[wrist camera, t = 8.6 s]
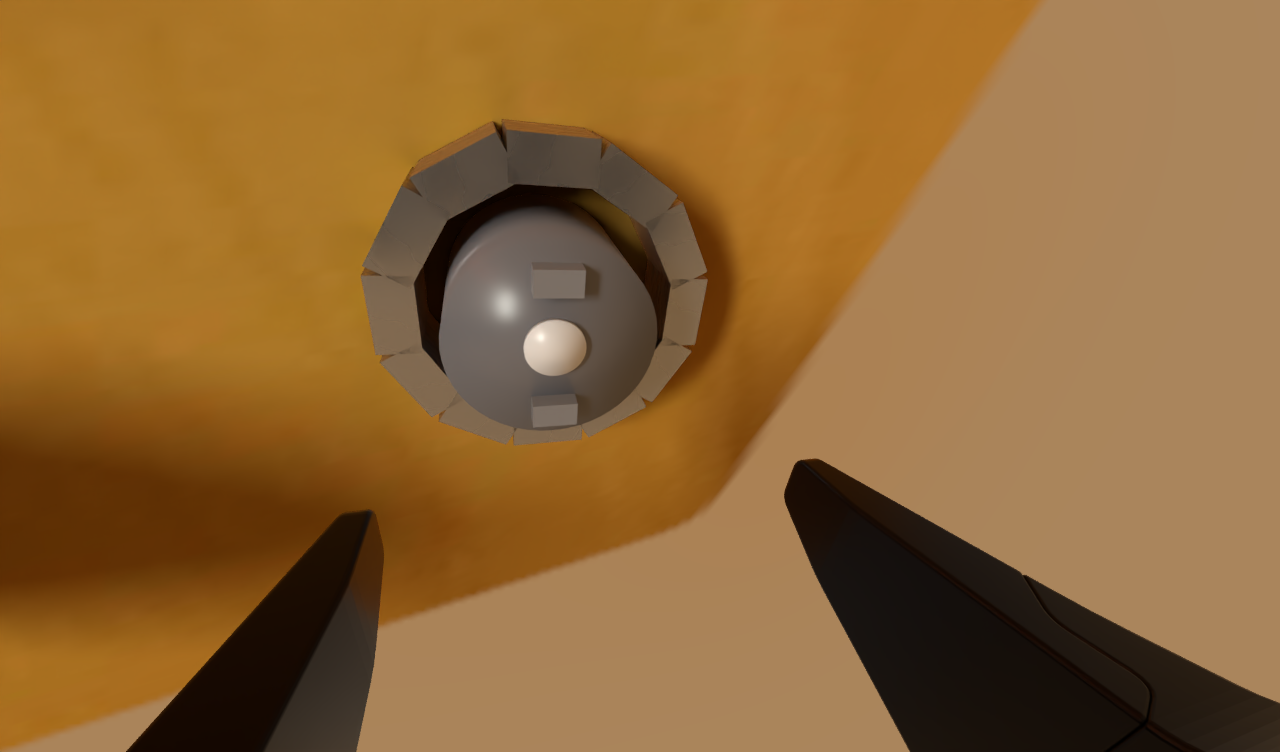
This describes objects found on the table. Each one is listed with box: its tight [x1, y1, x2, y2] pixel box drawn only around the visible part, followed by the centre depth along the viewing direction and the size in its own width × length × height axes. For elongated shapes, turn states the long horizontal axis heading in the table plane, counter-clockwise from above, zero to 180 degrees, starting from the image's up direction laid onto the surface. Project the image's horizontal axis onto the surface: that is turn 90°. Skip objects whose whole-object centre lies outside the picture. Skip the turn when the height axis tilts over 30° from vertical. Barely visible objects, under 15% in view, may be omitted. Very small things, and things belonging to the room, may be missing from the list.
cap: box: [439, 194, 657, 431], centre depth 14 cm, size 6×6×5 cm
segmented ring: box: [361, 119, 708, 445], centre depth 15 cm, size 10×10×2 cm
